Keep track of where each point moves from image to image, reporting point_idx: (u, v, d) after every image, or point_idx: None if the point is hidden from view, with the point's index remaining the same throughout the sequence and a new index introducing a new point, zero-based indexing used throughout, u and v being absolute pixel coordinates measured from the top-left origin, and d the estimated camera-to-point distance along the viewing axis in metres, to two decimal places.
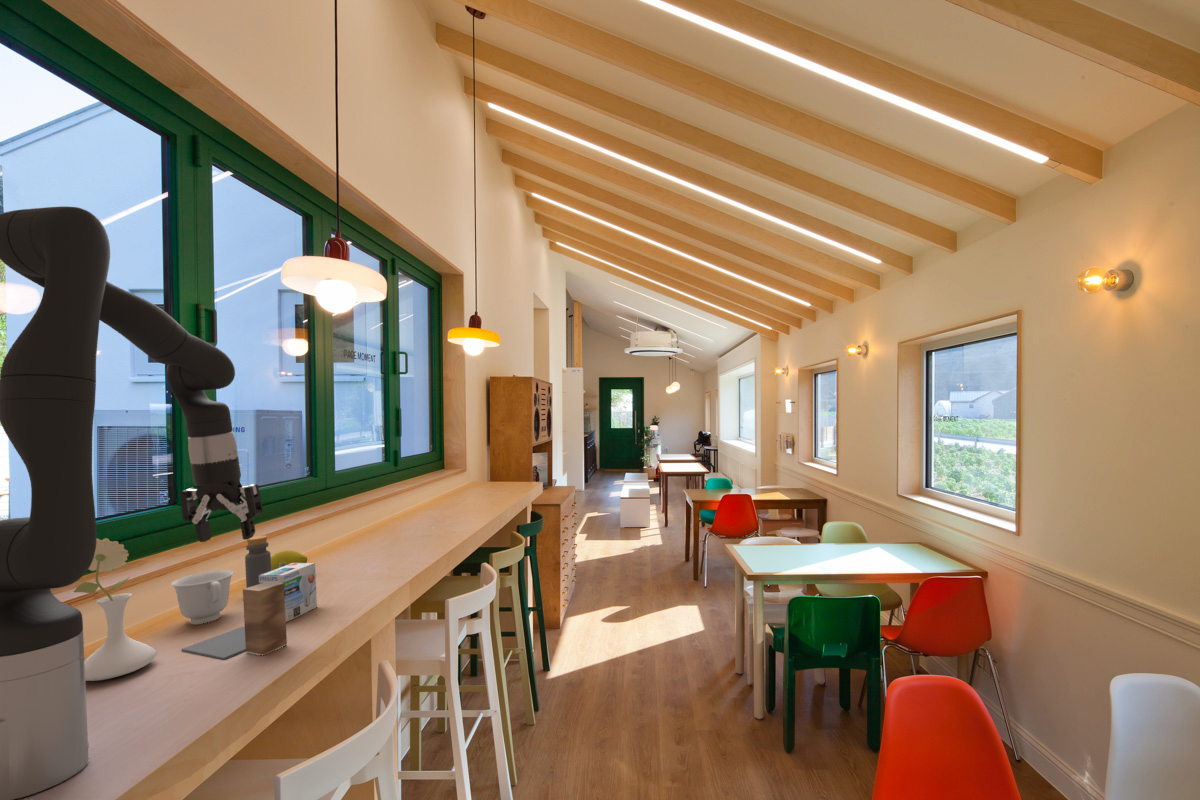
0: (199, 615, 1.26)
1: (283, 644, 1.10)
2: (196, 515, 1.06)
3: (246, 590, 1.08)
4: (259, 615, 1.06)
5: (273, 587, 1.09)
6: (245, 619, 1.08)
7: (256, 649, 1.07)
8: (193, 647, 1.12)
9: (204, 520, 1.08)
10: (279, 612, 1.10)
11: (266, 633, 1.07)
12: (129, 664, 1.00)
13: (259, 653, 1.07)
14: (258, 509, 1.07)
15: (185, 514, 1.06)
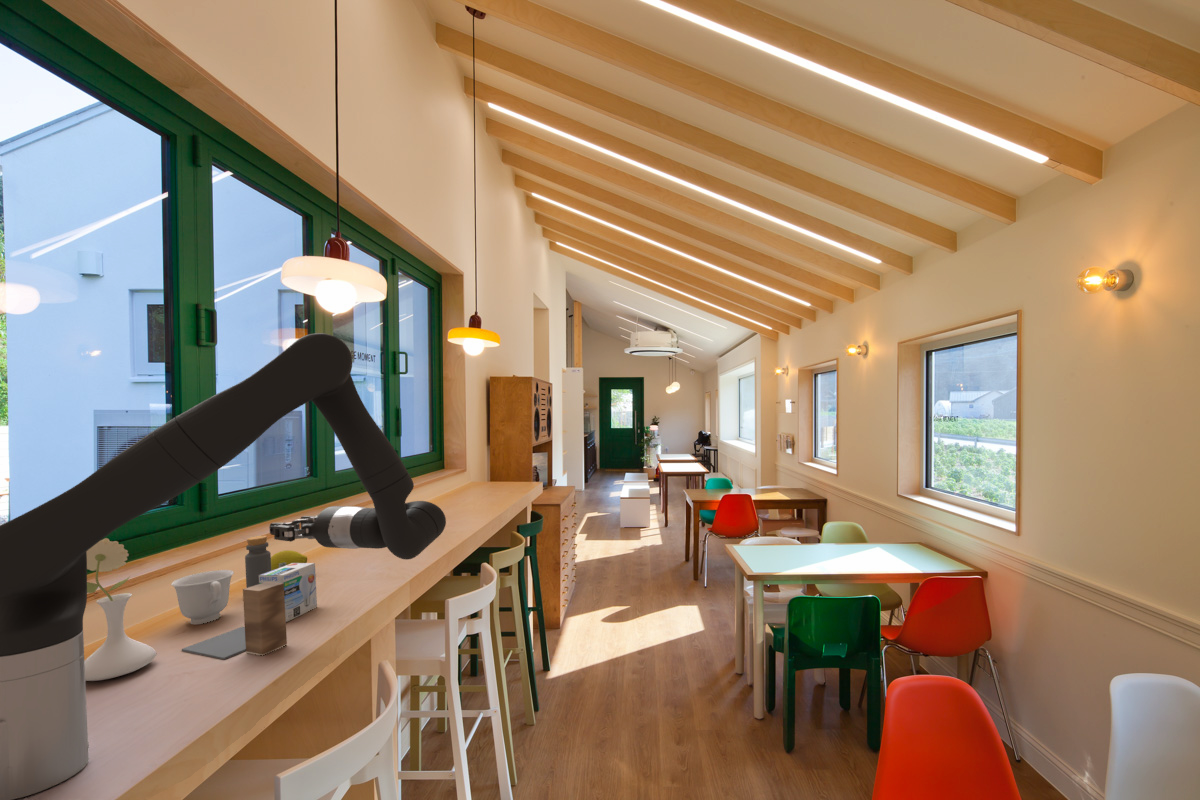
0: (199, 615, 1.26)
1: (283, 644, 1.10)
2: None
3: (246, 590, 1.08)
4: (259, 615, 1.06)
5: (273, 587, 1.09)
6: (245, 619, 1.08)
7: (256, 649, 1.07)
8: (193, 647, 1.12)
9: None
10: (279, 612, 1.10)
11: (266, 633, 1.07)
12: (129, 664, 1.00)
13: (259, 653, 1.07)
14: (276, 534, 1.02)
15: None
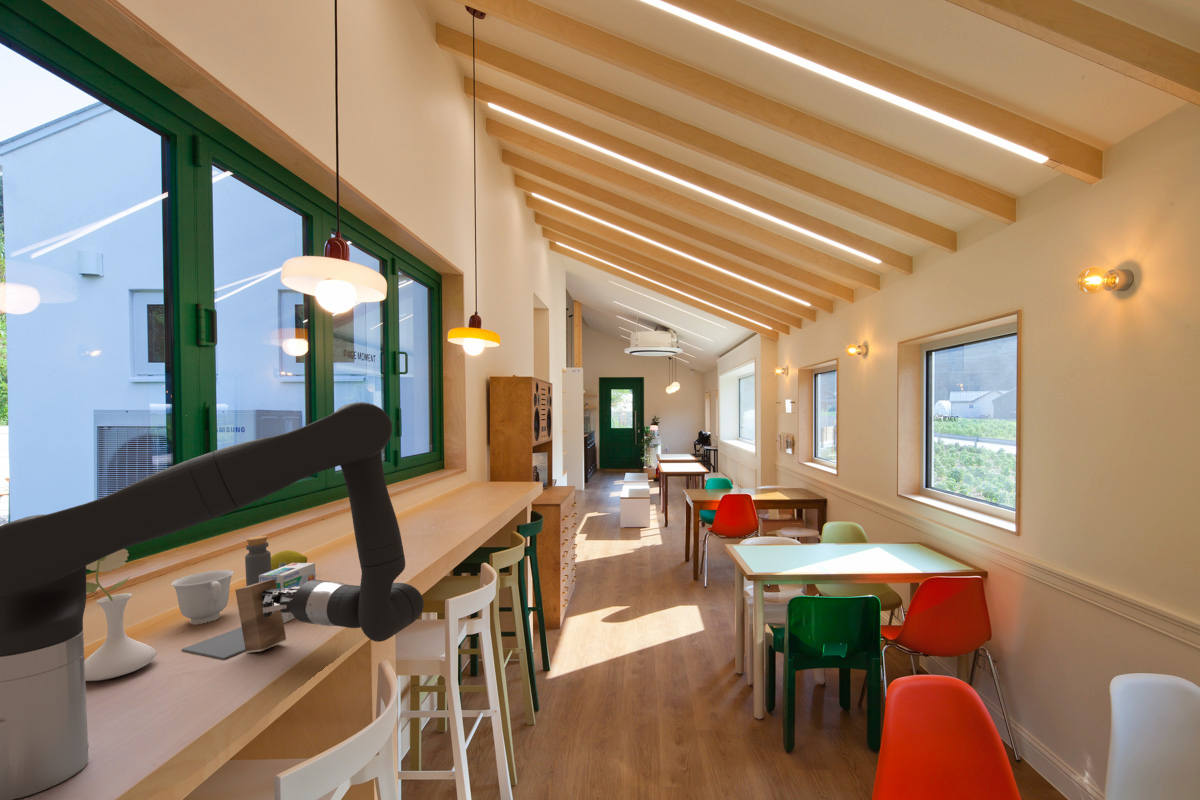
0: (199, 615, 1.26)
1: (282, 639, 1.10)
2: None
3: (238, 589, 1.09)
4: (254, 610, 1.07)
5: (265, 583, 1.10)
6: (241, 619, 1.09)
7: (255, 646, 1.07)
8: (193, 647, 1.12)
9: None
10: None
11: (263, 628, 1.08)
12: (129, 664, 1.00)
13: (258, 649, 1.07)
14: None
15: (299, 586, 1.10)
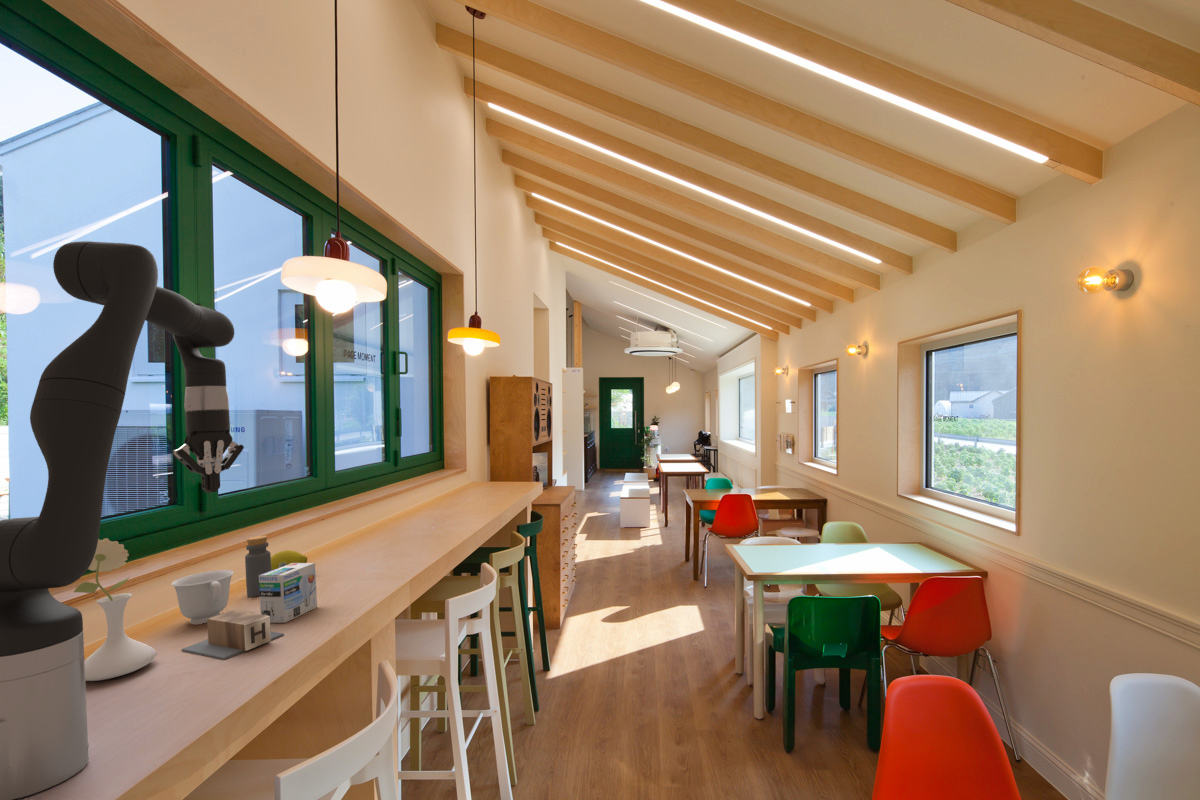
0: (199, 615, 1.26)
1: (264, 616, 1.13)
2: (206, 467, 1.14)
3: (208, 638, 1.14)
4: (221, 622, 1.12)
5: (222, 614, 1.16)
6: (225, 645, 1.11)
7: (242, 633, 1.09)
8: (193, 647, 1.12)
9: None
10: (243, 614, 1.15)
11: (237, 621, 1.11)
12: (129, 664, 1.00)
13: (243, 629, 1.09)
14: None
15: (196, 466, 1.13)
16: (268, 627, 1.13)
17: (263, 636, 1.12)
